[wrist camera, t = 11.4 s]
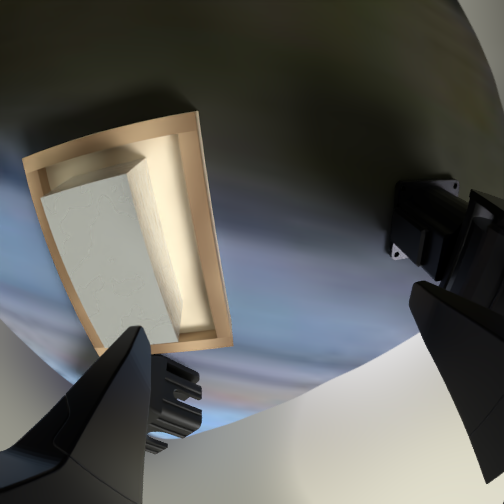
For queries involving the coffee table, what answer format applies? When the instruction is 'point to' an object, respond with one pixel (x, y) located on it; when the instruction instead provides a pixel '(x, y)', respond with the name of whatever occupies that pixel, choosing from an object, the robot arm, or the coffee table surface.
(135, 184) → the block
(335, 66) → the coffee table surface
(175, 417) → the end cap
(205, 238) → the beech stand
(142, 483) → the robot arm
